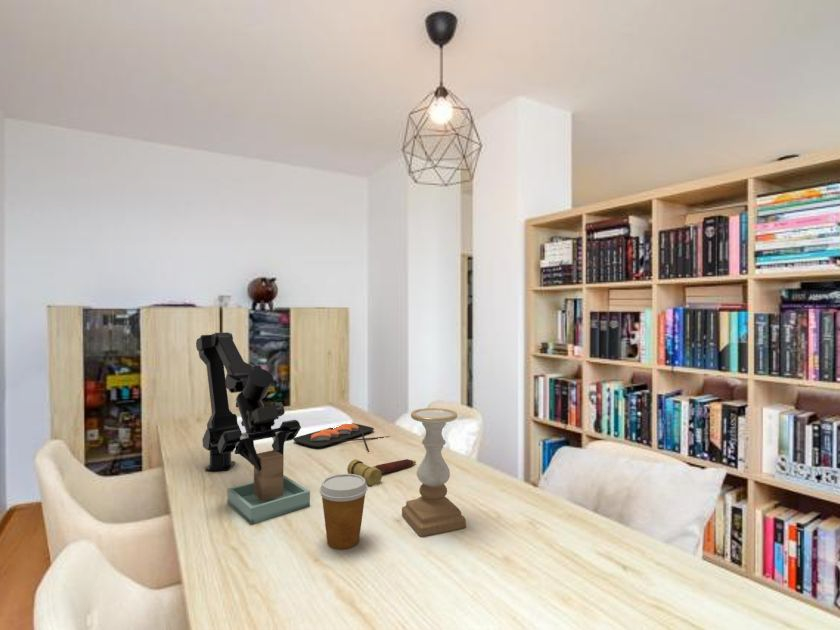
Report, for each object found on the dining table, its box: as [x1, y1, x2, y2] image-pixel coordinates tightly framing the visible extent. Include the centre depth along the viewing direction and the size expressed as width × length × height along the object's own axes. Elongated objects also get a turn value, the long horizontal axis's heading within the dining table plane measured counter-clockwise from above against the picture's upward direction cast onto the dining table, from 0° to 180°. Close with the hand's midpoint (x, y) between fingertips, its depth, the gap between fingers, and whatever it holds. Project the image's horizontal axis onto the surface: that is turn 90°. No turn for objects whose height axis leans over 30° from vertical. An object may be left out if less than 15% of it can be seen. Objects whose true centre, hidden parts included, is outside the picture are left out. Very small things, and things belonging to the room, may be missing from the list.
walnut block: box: [253, 449, 285, 501], centre depth 107 cm, size 5×5×10 cm
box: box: [226, 474, 311, 525], centre depth 107 cm, size 14×14×4 cm
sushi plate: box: [293, 422, 391, 453], centre depth 159 cm, size 29×30×4 cm
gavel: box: [346, 458, 417, 487], centre depth 129 cm, size 21×5×10 cm
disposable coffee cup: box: [318, 473, 369, 550], centre depth 91 cm, size 10×10×12 cm
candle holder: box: [401, 407, 467, 538], centre depth 100 cm, size 11×11×24 cm
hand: (271, 467), depth 106 cm, fingers closed on walnut block, 5 cm apart
